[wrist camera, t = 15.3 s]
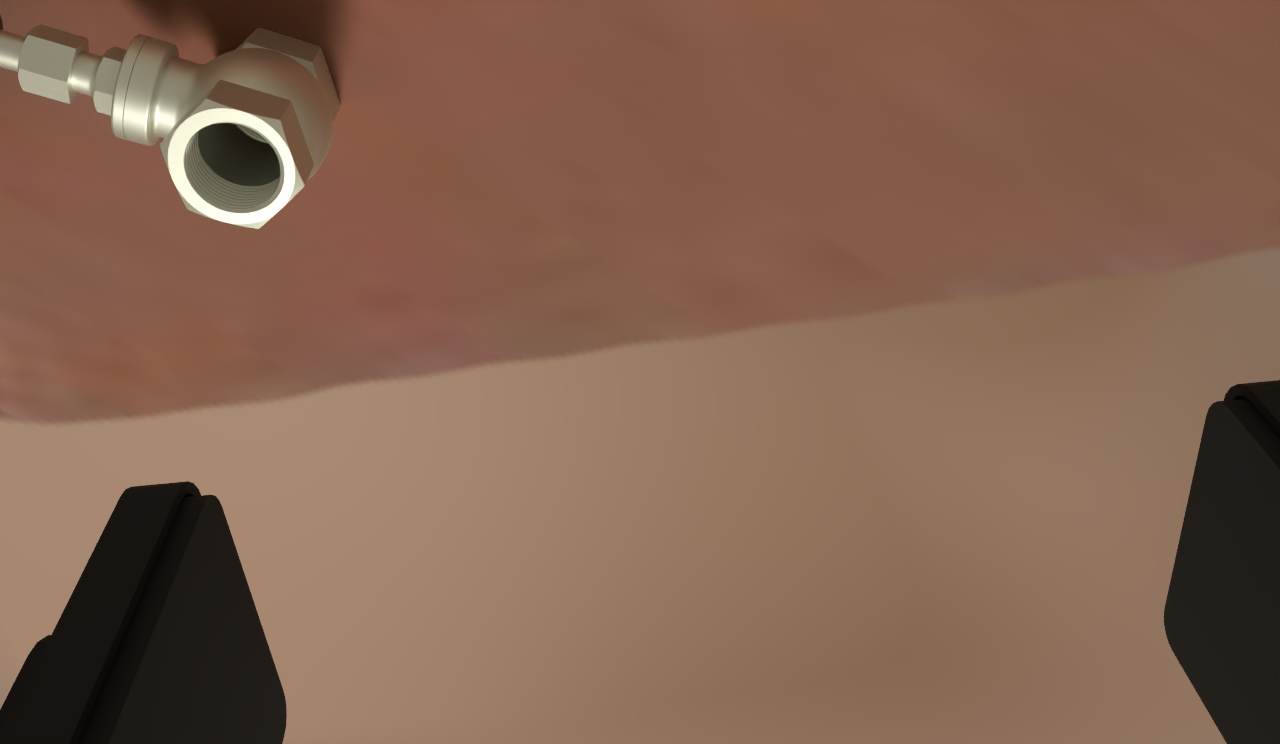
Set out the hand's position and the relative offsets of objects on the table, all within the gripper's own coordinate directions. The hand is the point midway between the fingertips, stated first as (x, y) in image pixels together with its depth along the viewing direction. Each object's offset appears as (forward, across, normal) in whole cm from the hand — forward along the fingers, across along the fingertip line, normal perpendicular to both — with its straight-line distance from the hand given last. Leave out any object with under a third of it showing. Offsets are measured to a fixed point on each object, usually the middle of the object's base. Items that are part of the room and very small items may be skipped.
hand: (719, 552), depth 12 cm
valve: (+29, +14, +3) cm, 32 cm away
